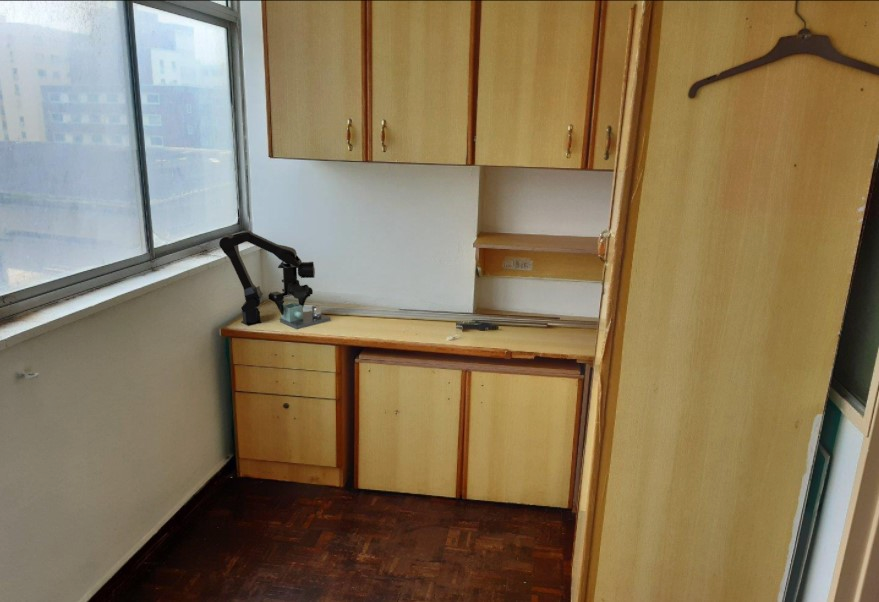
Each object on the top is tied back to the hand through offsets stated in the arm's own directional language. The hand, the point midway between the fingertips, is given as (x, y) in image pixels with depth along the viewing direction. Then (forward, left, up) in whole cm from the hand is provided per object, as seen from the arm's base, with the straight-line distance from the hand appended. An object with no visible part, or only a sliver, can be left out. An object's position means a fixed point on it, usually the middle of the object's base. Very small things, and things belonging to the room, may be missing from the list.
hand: (291, 312), depth 277 cm
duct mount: (+5, -3, -4) cm, 7 cm away
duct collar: (0, -2, -3) cm, 3 cm away
